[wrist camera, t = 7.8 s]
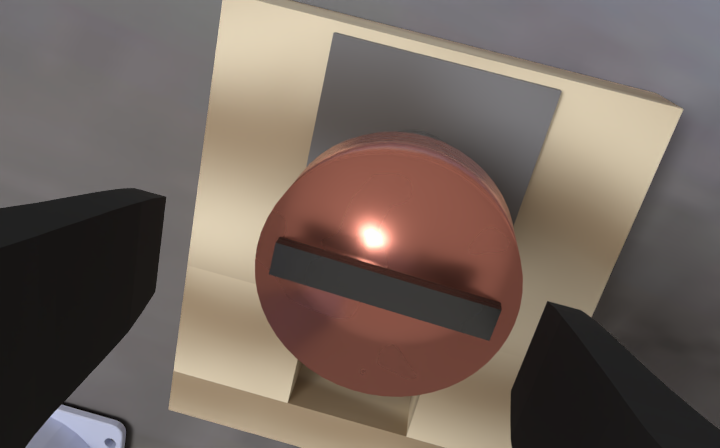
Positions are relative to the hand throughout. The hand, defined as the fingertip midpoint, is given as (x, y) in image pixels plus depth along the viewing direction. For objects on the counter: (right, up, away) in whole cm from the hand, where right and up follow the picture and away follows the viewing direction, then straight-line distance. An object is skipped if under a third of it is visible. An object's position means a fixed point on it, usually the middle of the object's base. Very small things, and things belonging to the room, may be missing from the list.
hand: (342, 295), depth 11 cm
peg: (+2, +3, +7) cm, 8 cm away
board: (+1, 0, +11) cm, 11 cm away
